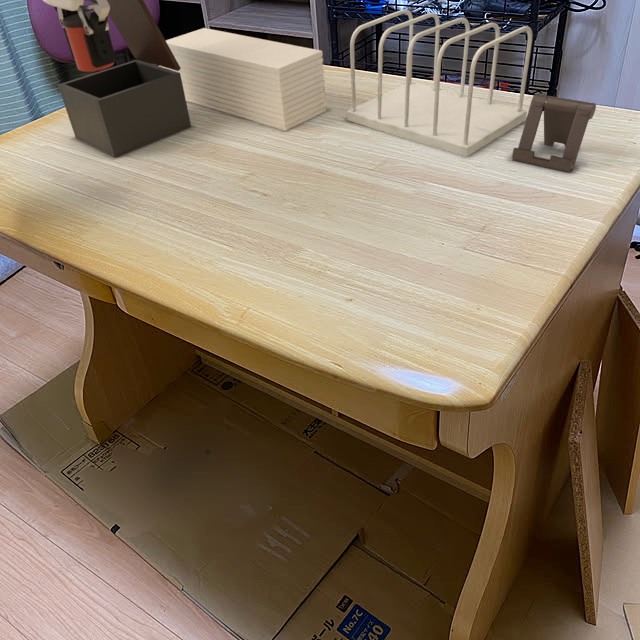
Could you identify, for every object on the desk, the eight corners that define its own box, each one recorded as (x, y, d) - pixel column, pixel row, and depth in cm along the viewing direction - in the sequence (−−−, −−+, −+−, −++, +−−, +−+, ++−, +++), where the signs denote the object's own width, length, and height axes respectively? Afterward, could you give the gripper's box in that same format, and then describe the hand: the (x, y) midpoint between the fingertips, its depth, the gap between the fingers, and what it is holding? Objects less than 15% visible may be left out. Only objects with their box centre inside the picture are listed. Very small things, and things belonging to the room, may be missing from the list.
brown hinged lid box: (115, 159, 104) (98, 101, 98) (76, 140, 112) (57, 84, 106) (191, 128, 113) (180, 72, 106) (150, 112, 121) (136, 59, 114)
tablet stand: (509, 162, 93) (517, 107, 88) (531, 142, 98) (539, 89, 92) (568, 175, 89) (579, 118, 83) (588, 154, 93) (599, 98, 88)
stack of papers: (173, 98, 126) (161, 41, 119) (213, 82, 132) (204, 27, 125) (285, 132, 108) (278, 68, 101) (326, 112, 114) (322, 50, 107)
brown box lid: (124, -25, 93) (148, -45, 95) (79, -32, 101) (103, -50, 103) (177, 71, 106) (199, 52, 107) (134, 58, 114) (154, 41, 115)
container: (78, 74, 81) (62, 24, 77) (76, 63, 85) (61, 16, 81) (116, 67, 82) (103, 18, 78) (113, 57, 86) (100, 10, 82)
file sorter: (346, 122, 110) (341, 27, 100) (408, 92, 119) (409, 2, 109) (466, 158, 95) (475, 52, 85) (526, 121, 104) (541, 21, 94)
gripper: (-14, -100, 75) (40, 57, 86) (48, -97, 65) (100, 81, 76) (45, -109, 78) (89, 44, 90) (112, -107, 68) (152, 64, 80)
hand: (94, 59), depth 83 cm, fingers closed on container, 4 cm apart
